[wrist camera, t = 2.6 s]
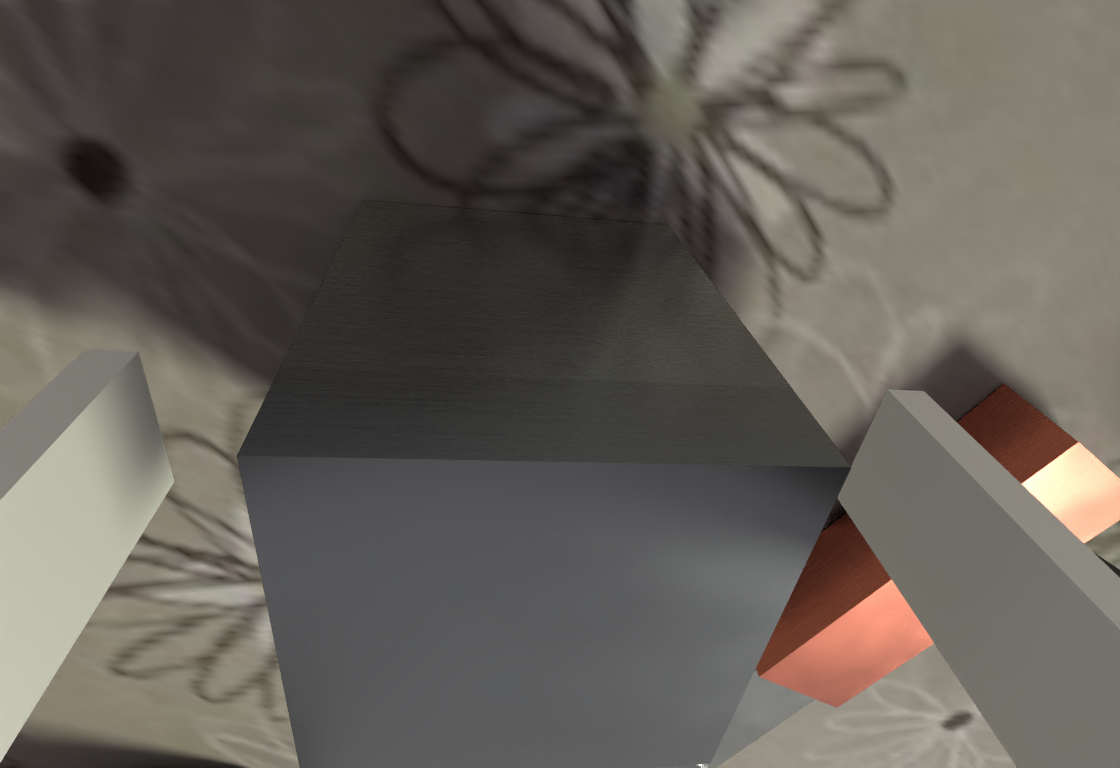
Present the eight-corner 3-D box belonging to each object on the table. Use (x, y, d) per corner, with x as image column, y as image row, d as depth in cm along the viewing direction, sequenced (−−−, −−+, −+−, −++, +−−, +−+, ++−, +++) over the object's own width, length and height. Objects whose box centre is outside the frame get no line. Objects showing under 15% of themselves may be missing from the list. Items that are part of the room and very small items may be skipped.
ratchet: (612, 818, 27) (653, 1069, 21) (453, 782, 24) (445, 1065, 18) (1104, 472, 18) (1425, 729, 12) (957, 342, 15) (1290, 599, 9)
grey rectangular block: (374, 449, 15) (303, 788, 9) (362, 199, 12) (237, 455, 6) (618, 454, 16) (710, 763, 10) (668, 224, 13) (851, 467, 7)
